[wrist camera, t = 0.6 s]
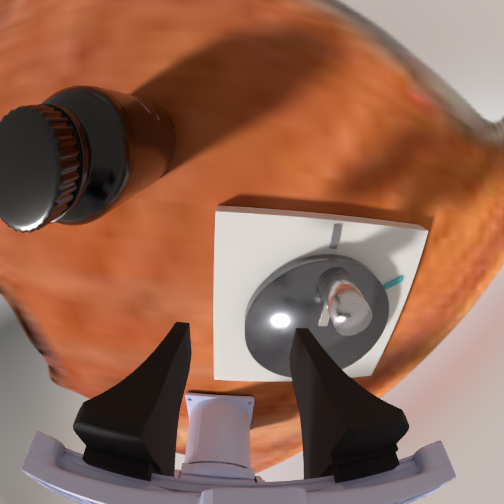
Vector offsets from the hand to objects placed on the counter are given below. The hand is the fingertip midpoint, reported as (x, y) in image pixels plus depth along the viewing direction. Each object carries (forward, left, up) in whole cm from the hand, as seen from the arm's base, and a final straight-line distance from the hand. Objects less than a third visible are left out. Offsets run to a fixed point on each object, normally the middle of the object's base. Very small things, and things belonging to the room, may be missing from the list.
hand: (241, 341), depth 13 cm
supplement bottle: (+8, +8, -10) cm, 15 cm away
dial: (-5, -6, -8) cm, 11 cm away
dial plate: (-4, -6, -9) cm, 12 cm away
